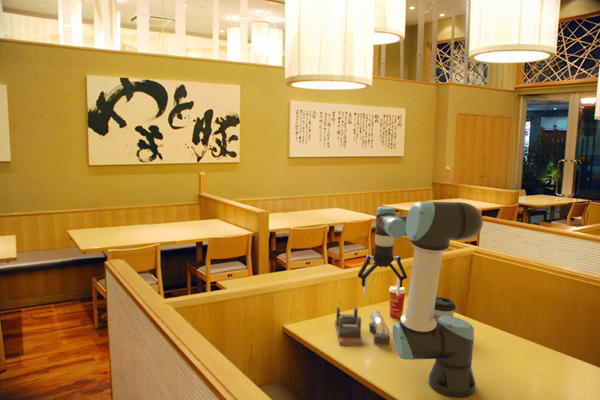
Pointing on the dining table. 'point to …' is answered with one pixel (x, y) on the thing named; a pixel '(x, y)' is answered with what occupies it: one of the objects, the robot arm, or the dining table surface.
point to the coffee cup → (443, 308)
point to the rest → (377, 339)
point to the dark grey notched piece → (348, 328)
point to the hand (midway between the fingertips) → (381, 294)
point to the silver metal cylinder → (379, 324)
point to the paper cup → (396, 302)
